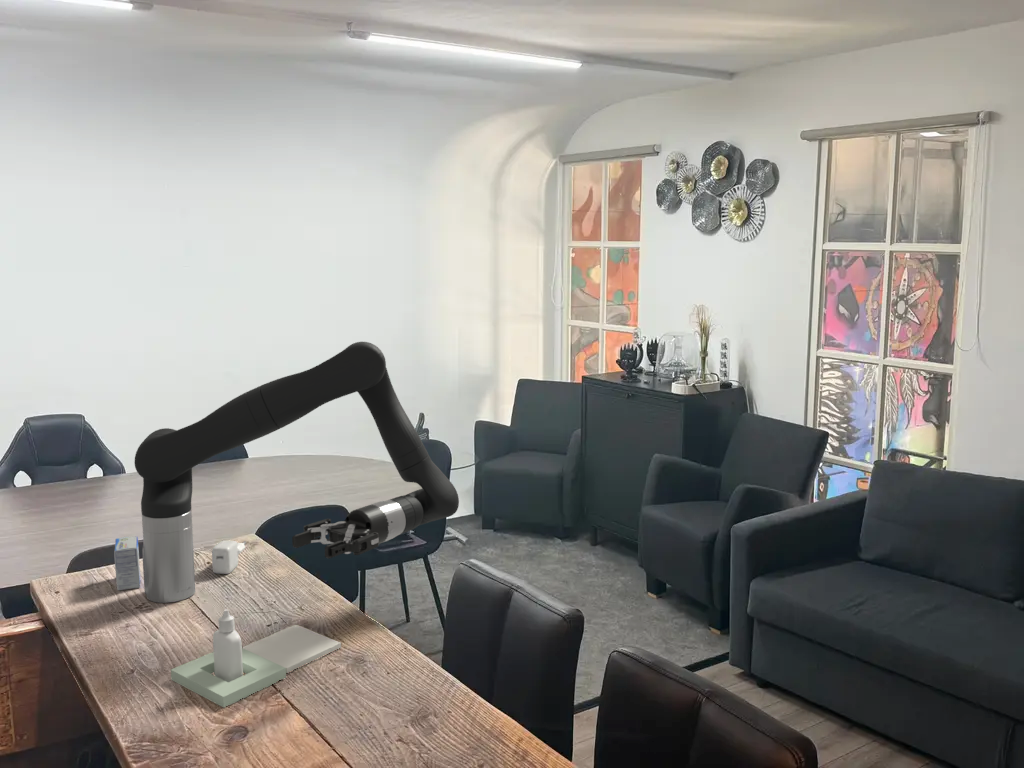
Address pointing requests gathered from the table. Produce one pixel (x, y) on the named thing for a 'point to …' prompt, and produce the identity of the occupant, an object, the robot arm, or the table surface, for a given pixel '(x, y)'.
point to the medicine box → (127, 563)
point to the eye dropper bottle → (227, 649)
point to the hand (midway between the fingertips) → (309, 547)
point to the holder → (227, 693)
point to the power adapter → (226, 556)
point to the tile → (293, 647)
